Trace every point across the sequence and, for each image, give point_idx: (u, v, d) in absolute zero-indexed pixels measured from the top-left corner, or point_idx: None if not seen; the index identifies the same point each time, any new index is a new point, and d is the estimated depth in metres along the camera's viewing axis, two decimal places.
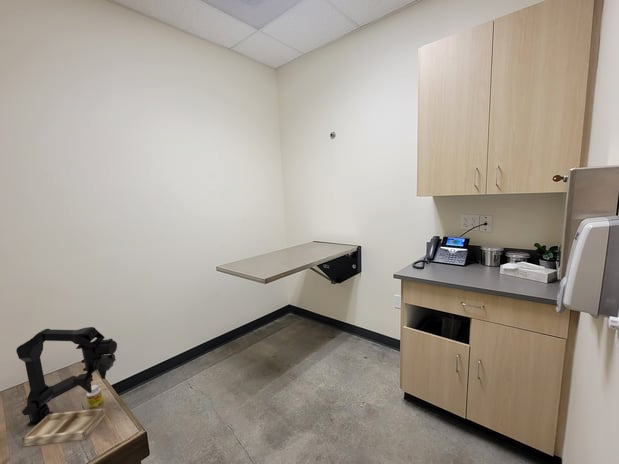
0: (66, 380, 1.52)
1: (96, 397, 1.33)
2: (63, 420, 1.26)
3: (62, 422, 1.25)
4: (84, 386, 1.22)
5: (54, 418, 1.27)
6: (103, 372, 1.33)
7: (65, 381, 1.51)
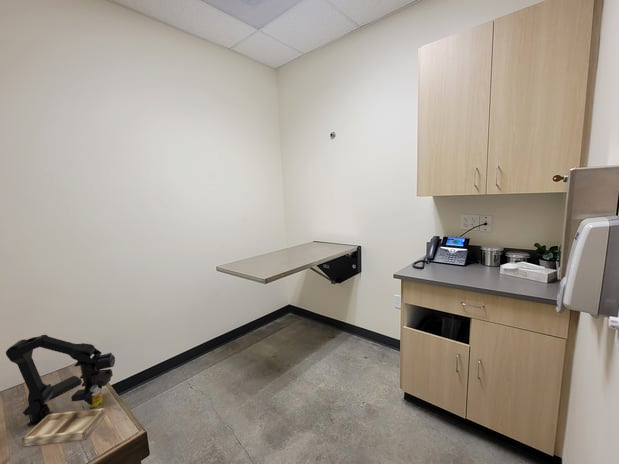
0: (66, 380, 1.51)
1: (96, 397, 1.33)
2: (63, 420, 1.26)
3: (62, 422, 1.25)
4: (85, 398, 1.30)
5: (54, 418, 1.27)
6: None
7: (66, 381, 1.51)
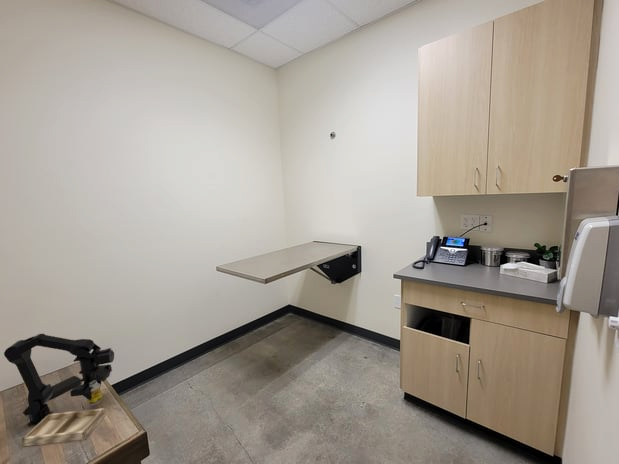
0: (66, 380, 1.51)
1: (95, 393, 1.32)
2: (63, 420, 1.26)
3: (62, 422, 1.25)
4: (84, 394, 1.29)
5: (54, 418, 1.27)
6: None
7: (66, 381, 1.51)
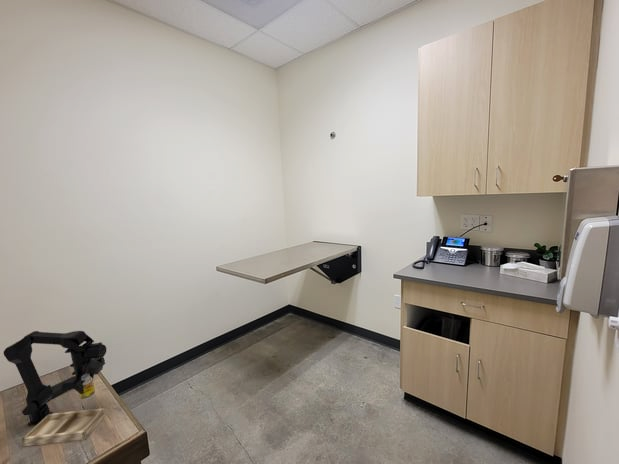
0: None
1: (88, 386, 1.27)
2: (63, 420, 1.26)
3: (62, 422, 1.25)
4: (76, 387, 1.24)
5: (54, 418, 1.27)
6: None
7: None
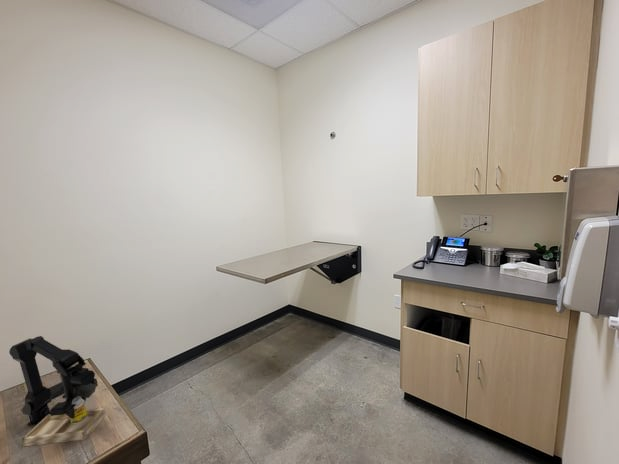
0: None
1: (79, 410, 1.19)
2: (63, 420, 1.26)
3: (62, 422, 1.25)
4: (66, 412, 1.16)
5: (54, 418, 1.27)
6: None
7: None
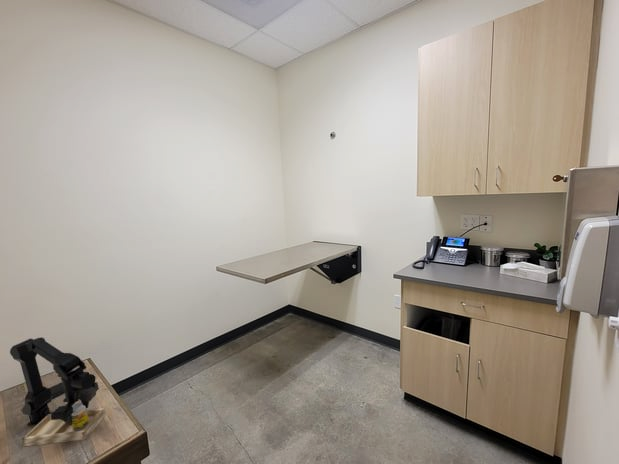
0: None
1: (80, 417, 1.20)
2: None
3: (62, 422, 1.25)
4: (64, 419, 1.15)
5: None
6: (86, 401, 1.26)
7: None
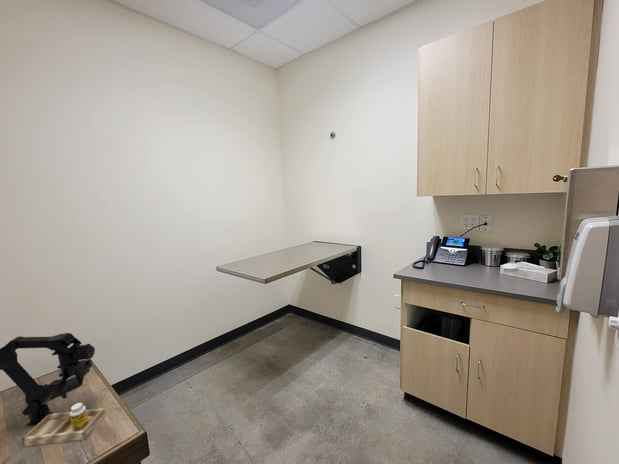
0: (68, 380, 1.51)
1: (81, 417, 1.20)
2: (63, 420, 1.26)
3: (62, 422, 1.25)
4: (59, 392, 1.23)
5: (54, 418, 1.27)
6: (80, 377, 1.34)
7: (67, 381, 1.51)
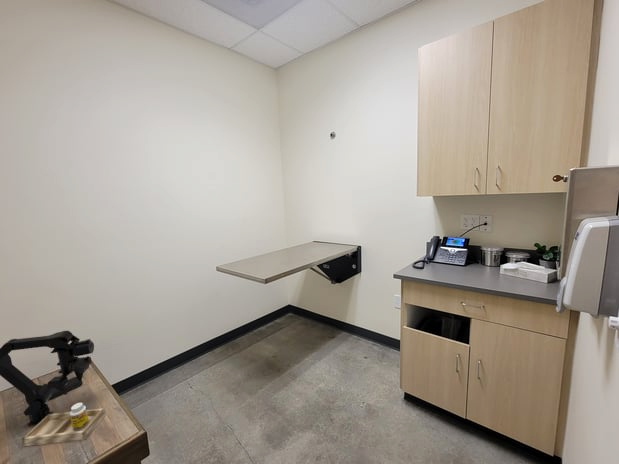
0: None
1: (81, 417, 1.20)
2: (63, 420, 1.26)
3: (62, 422, 1.25)
4: (59, 388, 1.25)
5: (54, 418, 1.27)
6: (80, 374, 1.36)
7: None
